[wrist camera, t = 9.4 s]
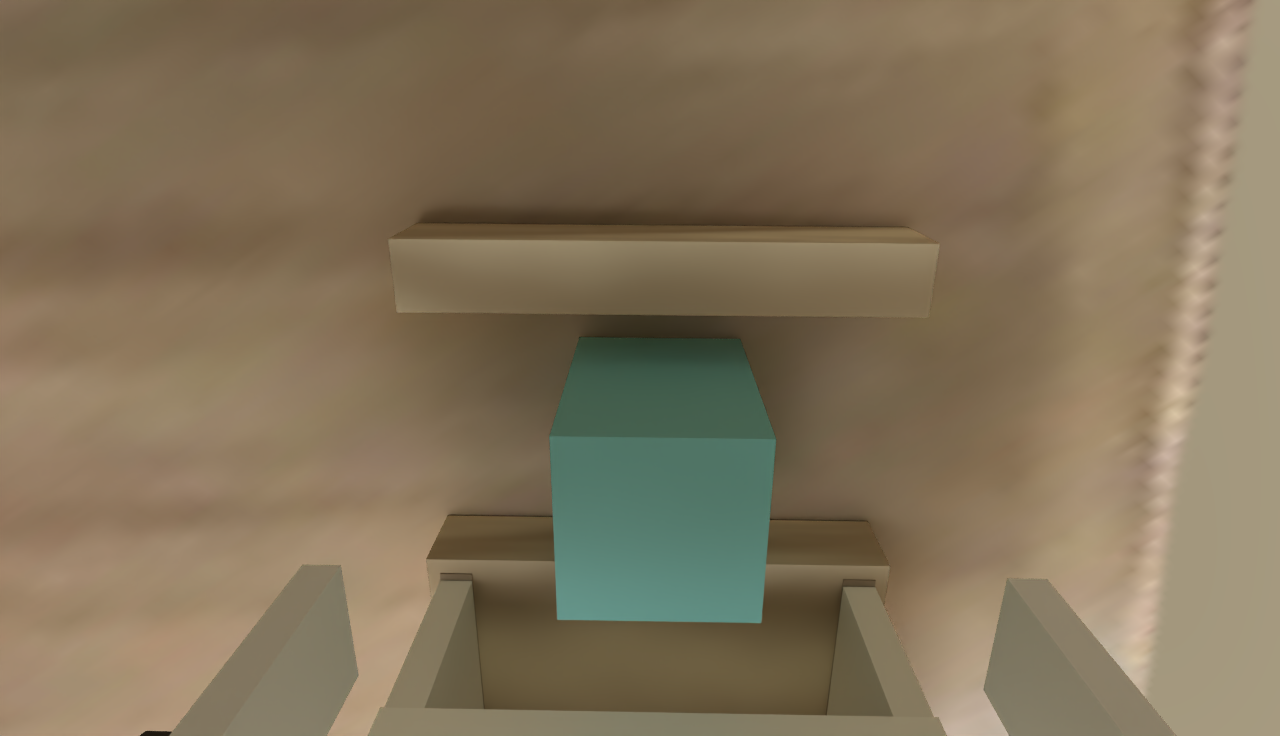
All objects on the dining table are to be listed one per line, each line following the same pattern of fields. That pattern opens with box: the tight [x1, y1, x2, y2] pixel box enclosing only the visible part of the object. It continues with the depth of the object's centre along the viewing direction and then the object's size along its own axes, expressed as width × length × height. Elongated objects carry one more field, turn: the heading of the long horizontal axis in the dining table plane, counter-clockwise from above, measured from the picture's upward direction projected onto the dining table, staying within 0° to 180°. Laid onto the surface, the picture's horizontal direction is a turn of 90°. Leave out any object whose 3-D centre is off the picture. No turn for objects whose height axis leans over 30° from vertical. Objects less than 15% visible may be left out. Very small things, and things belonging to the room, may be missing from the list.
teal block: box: [549, 337, 776, 623], centre depth 20 cm, size 5×5×7 cm
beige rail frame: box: [388, 223, 940, 715], centre depth 23 cm, size 24×14×4 cm, turn 0°
